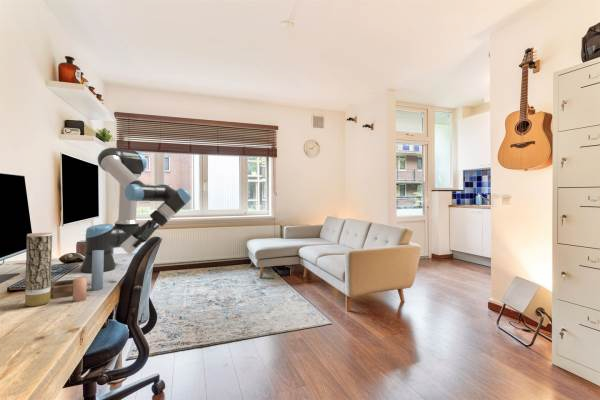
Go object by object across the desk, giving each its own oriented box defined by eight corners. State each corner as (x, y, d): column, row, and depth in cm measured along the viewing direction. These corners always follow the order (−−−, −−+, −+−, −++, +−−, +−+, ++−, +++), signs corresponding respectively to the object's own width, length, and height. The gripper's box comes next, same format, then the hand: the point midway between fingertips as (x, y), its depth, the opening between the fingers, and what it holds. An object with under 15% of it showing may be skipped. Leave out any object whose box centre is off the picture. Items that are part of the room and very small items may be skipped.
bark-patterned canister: (35, 308, 102) (37, 235, 102) (19, 305, 103) (21, 234, 103) (55, 301, 109) (57, 233, 108) (40, 299, 110) (42, 232, 110)
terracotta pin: (80, 297, 113) (80, 276, 113) (88, 298, 112) (89, 277, 112) (70, 301, 109) (70, 279, 109) (78, 302, 108) (79, 280, 108)
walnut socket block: (79, 288, 124) (79, 278, 124) (79, 294, 116) (79, 284, 116) (47, 292, 118) (48, 282, 118) (45, 299, 110) (46, 288, 110)
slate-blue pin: (97, 287, 126) (98, 249, 126) (105, 288, 126) (106, 250, 125) (88, 289, 123) (89, 251, 122) (96, 290, 122) (97, 252, 122)
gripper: (175, 222, 130) (136, 260, 121) (161, 218, 150) (127, 251, 141) (162, 210, 127) (121, 248, 118) (150, 208, 146) (114, 240, 137)
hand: (124, 250), depth 129 cm, fingers open, 13 cm apart
